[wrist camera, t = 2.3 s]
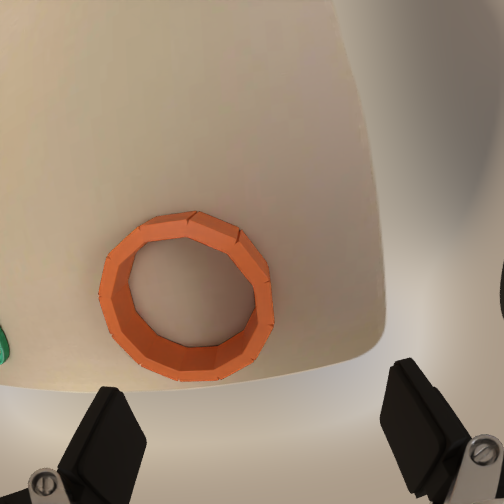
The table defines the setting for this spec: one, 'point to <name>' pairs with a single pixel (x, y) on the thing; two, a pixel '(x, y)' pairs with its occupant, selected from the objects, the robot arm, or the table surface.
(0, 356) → the magnifying glass
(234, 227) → the ring
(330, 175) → the table surface
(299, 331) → the table surface
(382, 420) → the robot arm
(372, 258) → the table surface
